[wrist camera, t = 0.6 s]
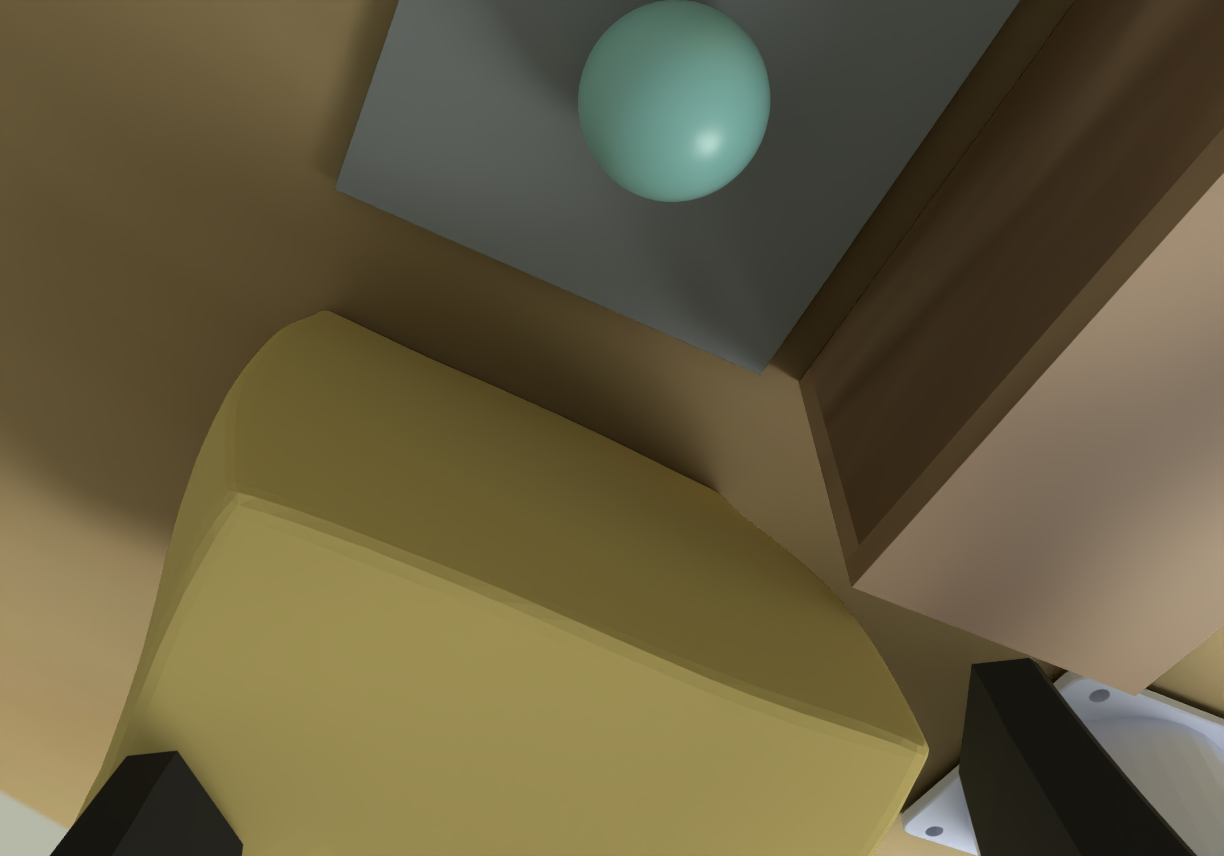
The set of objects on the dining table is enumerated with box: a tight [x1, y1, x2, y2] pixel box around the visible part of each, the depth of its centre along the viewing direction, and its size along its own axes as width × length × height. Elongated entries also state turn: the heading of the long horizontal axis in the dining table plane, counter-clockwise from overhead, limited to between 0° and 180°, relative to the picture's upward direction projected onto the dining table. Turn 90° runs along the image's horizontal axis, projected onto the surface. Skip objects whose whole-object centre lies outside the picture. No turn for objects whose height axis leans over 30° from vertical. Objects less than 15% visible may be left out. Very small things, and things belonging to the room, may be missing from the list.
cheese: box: [73, 310, 929, 856], centre depth 18 cm, size 10×11×10 cm
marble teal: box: [578, 0, 771, 202], centre depth 15 cm, size 3×3×3 cm
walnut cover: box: [799, 0, 1224, 696], centre depth 16 cm, size 6×10×6 cm, turn 154°
